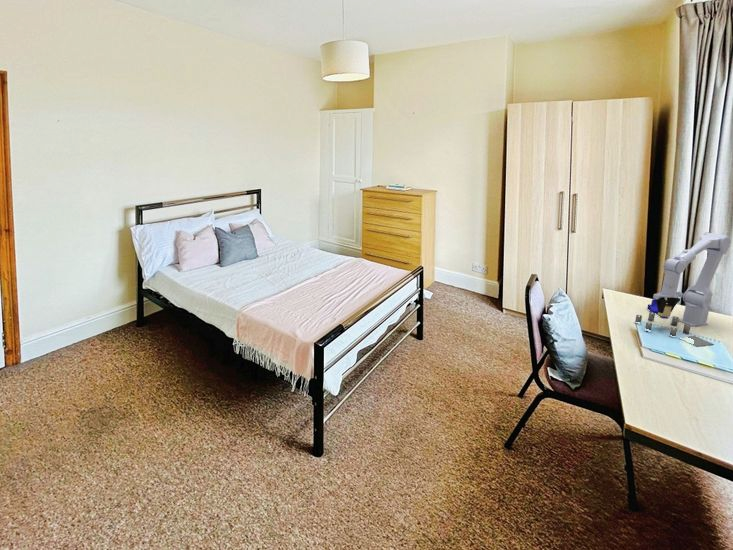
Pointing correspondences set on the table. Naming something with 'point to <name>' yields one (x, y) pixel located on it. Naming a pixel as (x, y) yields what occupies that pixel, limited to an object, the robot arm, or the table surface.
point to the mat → (699, 341)
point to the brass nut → (666, 311)
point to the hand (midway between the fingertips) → (664, 312)
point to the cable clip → (654, 308)
